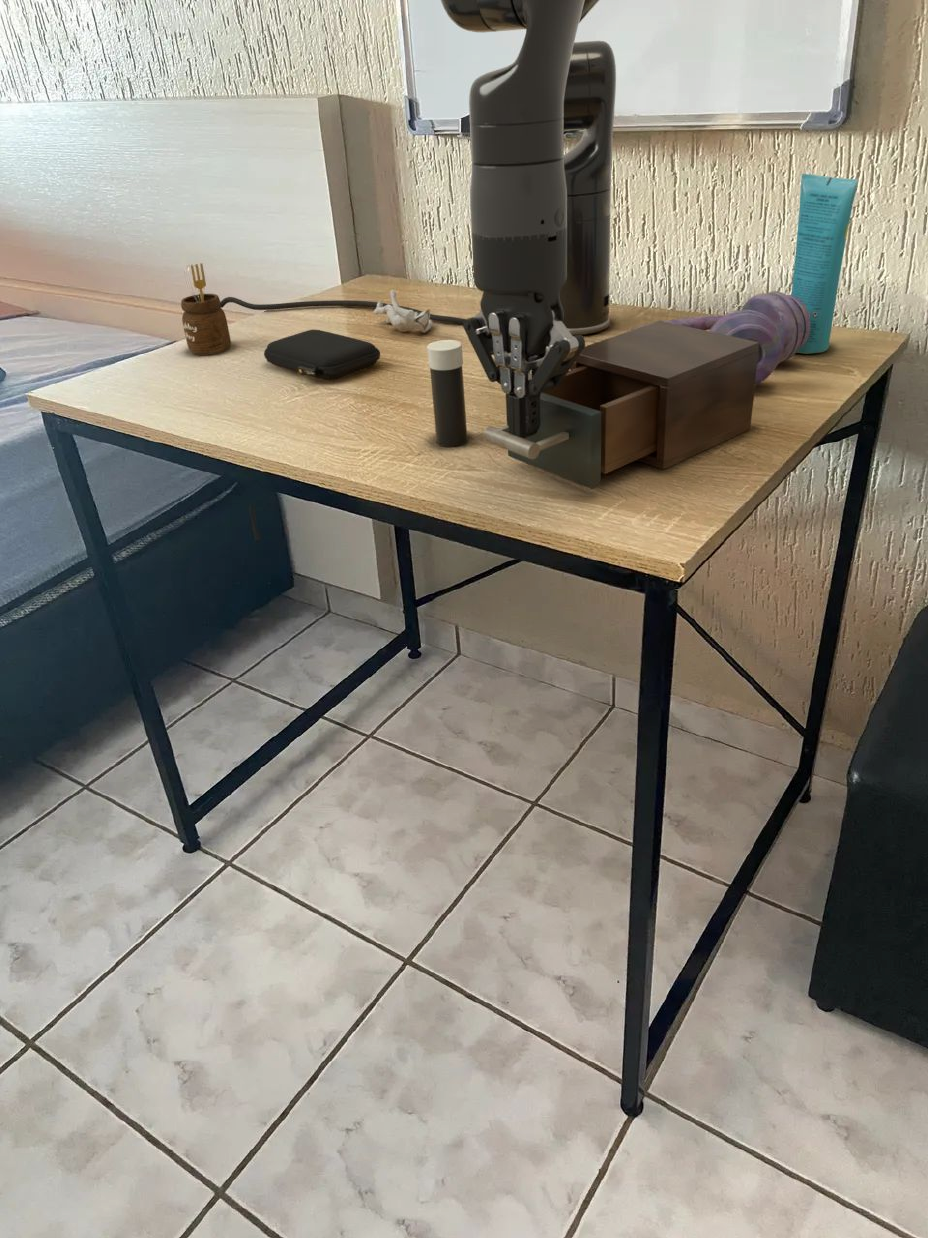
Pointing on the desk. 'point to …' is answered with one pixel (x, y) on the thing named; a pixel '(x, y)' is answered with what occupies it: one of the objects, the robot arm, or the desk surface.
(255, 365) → the desk surface
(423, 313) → the grey animal figurine
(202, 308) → the utensil holder
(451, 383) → the bottle
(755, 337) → the headphones
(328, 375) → the carrying case
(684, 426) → the cabinet
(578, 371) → the drawer
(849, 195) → the tube
